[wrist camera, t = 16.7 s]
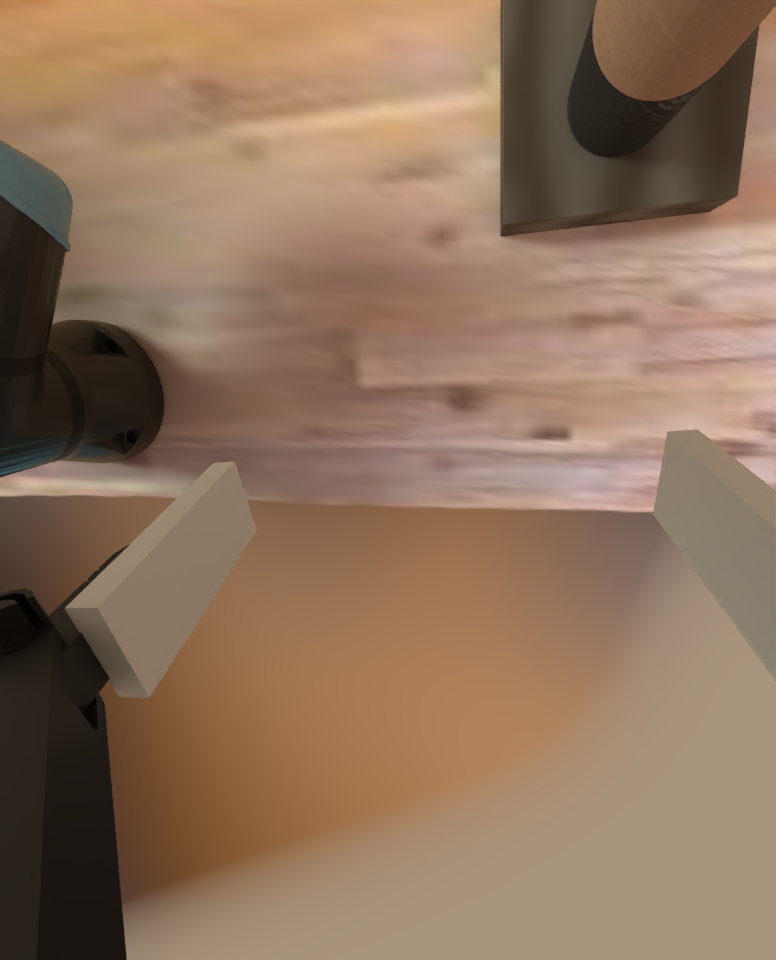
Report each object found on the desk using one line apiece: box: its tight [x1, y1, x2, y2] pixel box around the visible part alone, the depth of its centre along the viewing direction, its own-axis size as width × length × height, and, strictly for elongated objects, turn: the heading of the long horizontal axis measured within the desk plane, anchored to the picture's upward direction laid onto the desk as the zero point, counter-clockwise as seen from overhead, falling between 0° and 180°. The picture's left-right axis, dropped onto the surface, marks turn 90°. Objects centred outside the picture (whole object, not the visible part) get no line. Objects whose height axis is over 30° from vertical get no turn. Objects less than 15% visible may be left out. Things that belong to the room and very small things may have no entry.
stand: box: [501, 0, 759, 236], centre depth 33 cm, size 16×16×4 cm
